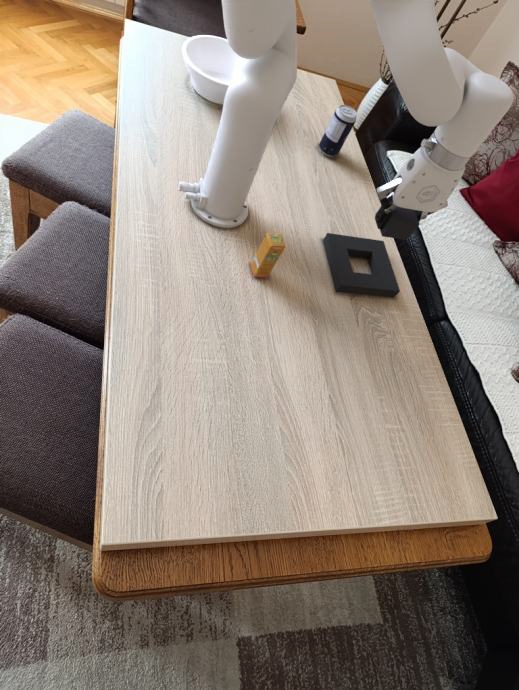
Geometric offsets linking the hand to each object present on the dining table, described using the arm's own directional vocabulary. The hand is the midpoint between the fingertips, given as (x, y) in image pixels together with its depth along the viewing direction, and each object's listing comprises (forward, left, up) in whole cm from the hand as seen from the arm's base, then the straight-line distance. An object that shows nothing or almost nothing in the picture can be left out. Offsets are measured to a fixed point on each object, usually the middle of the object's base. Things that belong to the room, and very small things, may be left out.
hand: (392, 225), depth 99 cm
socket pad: (+1, +1, -15) cm, 15 cm away
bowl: (-27, +57, -15) cm, 65 cm away
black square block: (0, 0, -1) cm, 1 cm away
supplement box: (-23, -3, -15) cm, 28 cm away
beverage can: (+2, +41, -15) cm, 44 cm away
